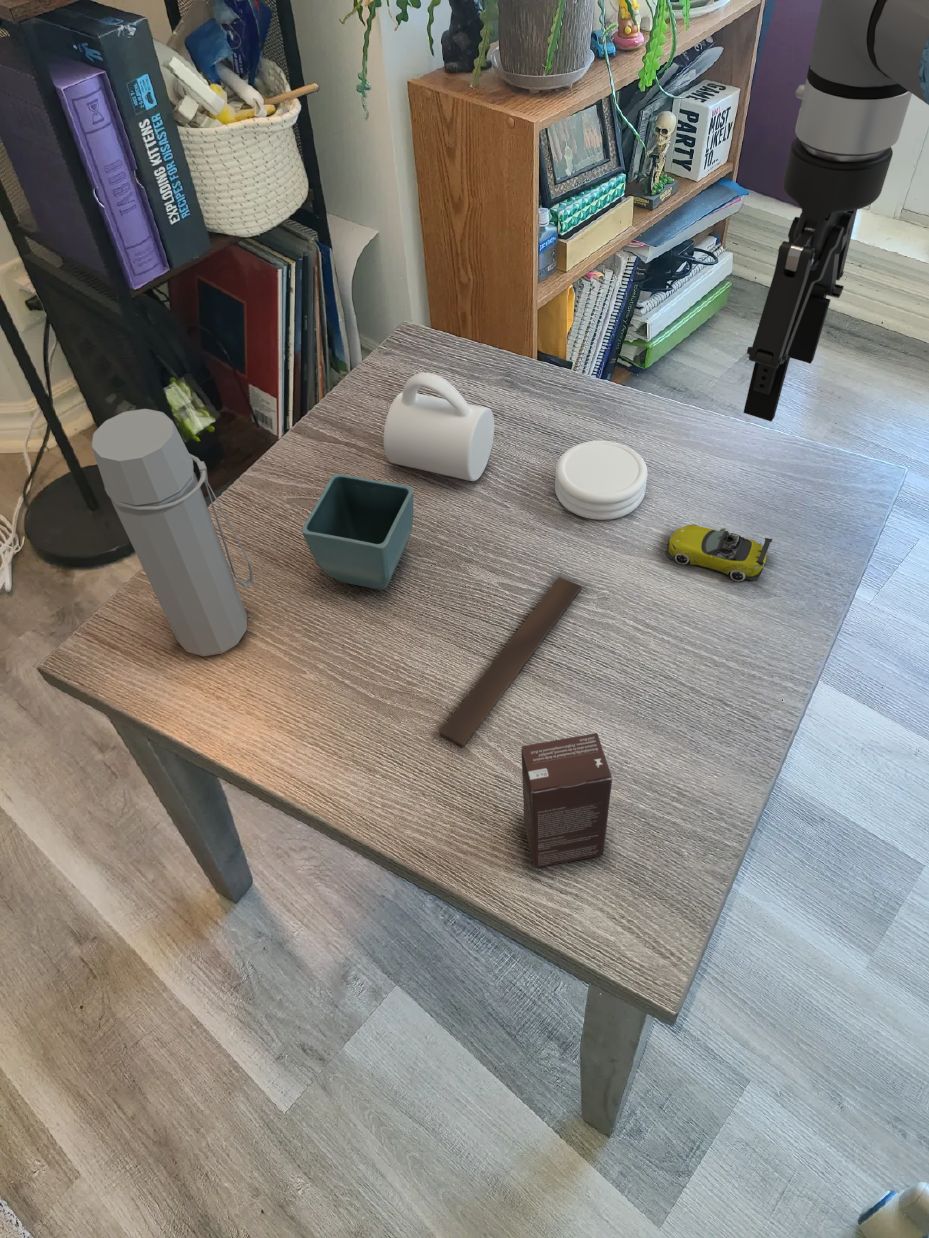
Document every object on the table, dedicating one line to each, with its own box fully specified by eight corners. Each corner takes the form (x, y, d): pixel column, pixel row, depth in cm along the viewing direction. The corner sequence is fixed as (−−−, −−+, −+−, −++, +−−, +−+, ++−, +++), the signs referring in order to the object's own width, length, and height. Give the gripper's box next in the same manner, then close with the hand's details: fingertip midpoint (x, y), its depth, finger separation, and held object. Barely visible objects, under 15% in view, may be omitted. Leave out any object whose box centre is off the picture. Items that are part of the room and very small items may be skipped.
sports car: (675, 528, 96) (679, 507, 94) (768, 554, 93) (775, 533, 91) (660, 559, 93) (664, 539, 91) (756, 587, 90) (762, 567, 88)
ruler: (581, 589, 91) (581, 586, 91) (463, 747, 80) (463, 744, 80) (559, 579, 92) (559, 576, 92) (439, 735, 81) (439, 732, 80)
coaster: (536, 496, 100) (537, 472, 98) (589, 450, 105) (590, 426, 102) (611, 535, 96) (613, 511, 93) (662, 485, 101) (665, 461, 98)
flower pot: (395, 609, 91) (384, 547, 84) (315, 593, 93) (298, 531, 86) (422, 549, 96) (415, 486, 89) (346, 535, 98) (333, 472, 91)
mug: (470, 496, 101) (464, 409, 92) (387, 477, 104) (374, 391, 95) (495, 451, 106) (493, 364, 97) (416, 434, 109) (406, 348, 99)
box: (590, 807, 76) (599, 729, 66) (604, 857, 73) (616, 782, 63) (520, 819, 75) (519, 743, 66) (531, 869, 72) (532, 797, 63)
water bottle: (188, 673, 87) (94, 477, 68) (169, 618, 91) (76, 420, 72) (278, 639, 89) (212, 440, 70) (256, 587, 94) (187, 387, 74)
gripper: (842, 82, 76) (783, 318, 93) (740, 191, 64) (694, 438, 81) (934, 97, 73) (855, 338, 90) (844, 214, 61) (774, 465, 79)
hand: (779, 385), depth 86 cm, fingers open, 10 cm apart
